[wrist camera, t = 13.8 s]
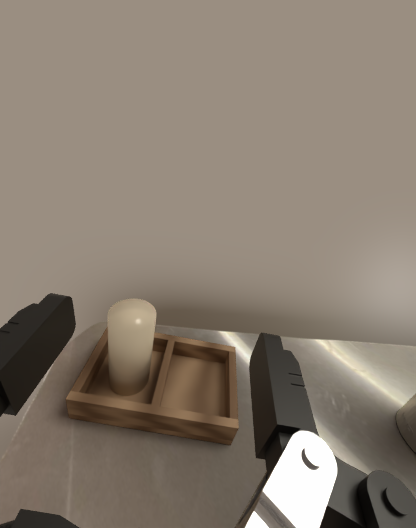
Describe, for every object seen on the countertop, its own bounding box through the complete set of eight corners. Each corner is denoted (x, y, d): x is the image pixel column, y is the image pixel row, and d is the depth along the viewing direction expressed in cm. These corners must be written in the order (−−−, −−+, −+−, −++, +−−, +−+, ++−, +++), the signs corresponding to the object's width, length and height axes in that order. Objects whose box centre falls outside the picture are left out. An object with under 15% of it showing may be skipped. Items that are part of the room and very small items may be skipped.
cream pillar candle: (153, 364, 37) (160, 303, 31) (143, 399, 33) (149, 335, 27) (117, 358, 37) (118, 295, 31) (102, 392, 33) (99, 326, 27)
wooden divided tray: (229, 363, 41) (235, 347, 39) (230, 445, 31) (238, 428, 29) (109, 341, 41) (108, 324, 39) (69, 418, 30) (65, 399, 28)
